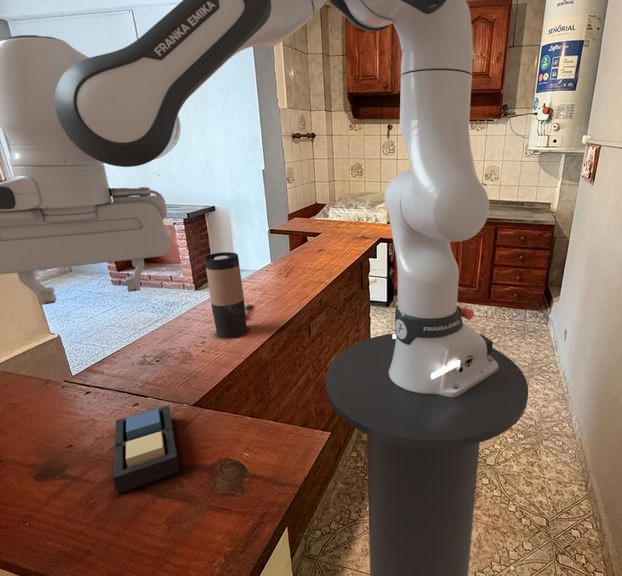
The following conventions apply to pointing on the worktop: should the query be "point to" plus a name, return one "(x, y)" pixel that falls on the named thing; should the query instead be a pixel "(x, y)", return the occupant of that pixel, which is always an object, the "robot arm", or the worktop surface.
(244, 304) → the spoon
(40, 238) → the robot arm
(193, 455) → the worktop surface
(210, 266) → the travel mug
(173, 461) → the backing frame
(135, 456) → the pad beige
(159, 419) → the pad blue
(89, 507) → the worktop surface
